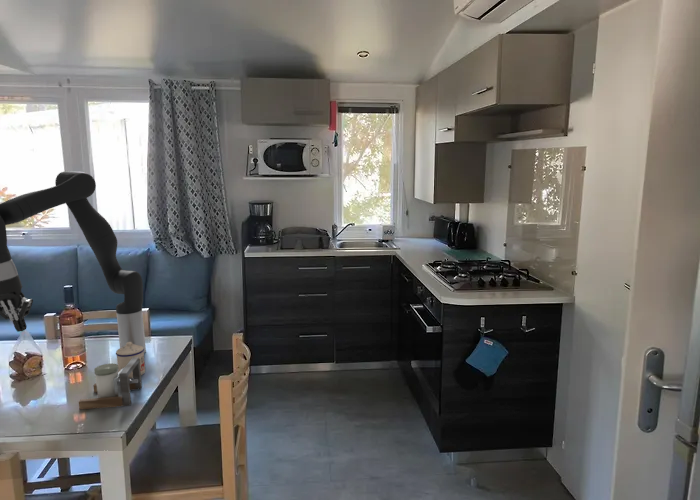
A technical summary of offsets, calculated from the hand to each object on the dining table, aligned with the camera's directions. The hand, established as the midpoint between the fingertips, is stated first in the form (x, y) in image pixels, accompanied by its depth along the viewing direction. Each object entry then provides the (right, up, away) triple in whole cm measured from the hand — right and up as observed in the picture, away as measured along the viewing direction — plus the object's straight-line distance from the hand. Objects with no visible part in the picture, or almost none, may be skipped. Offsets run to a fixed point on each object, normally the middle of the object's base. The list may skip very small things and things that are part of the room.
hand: (21, 330), depth 149 cm
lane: (+24, -22, +6) cm, 33 cm away
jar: (+24, -22, +5) cm, 33 cm away
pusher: (+30, -22, +6) cm, 38 cm away
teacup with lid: (+23, -19, +25) cm, 39 cm away
